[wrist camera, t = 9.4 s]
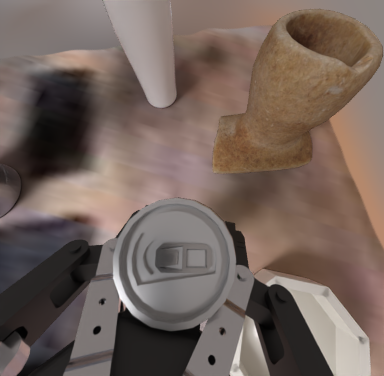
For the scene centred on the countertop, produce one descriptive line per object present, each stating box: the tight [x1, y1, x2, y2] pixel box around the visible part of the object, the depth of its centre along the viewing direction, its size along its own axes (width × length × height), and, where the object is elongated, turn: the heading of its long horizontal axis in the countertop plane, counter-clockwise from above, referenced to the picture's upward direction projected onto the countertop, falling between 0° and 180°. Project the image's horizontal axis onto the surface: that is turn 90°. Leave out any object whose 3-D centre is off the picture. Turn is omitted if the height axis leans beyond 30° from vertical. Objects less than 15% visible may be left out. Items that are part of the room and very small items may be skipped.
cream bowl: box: [230, 269, 371, 376], centre depth 19 cm, size 13×13×4 cm
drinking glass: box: [102, 0, 177, 108], centre depth 23 cm, size 7×7×15 cm
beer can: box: [113, 197, 236, 331], centre depth 13 cm, size 5×5×12 cm
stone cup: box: [212, 9, 383, 174], centre depth 20 cm, size 15×12×15 cm
